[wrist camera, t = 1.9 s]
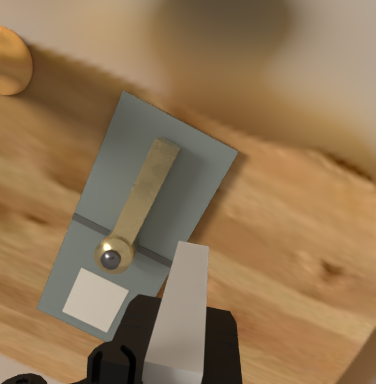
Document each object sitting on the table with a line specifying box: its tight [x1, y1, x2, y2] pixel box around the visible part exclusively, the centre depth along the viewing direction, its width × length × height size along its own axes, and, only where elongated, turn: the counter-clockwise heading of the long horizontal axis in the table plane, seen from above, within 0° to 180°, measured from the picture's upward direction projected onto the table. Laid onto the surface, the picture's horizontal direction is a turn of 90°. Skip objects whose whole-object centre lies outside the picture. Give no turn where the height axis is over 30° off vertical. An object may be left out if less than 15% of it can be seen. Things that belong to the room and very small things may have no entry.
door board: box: [37, 91, 238, 342], centre depth 29 cm, size 12×28×1 cm, turn 153°
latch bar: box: [94, 136, 182, 274], centre depth 25 cm, size 4×14×4 cm, turn 153°
